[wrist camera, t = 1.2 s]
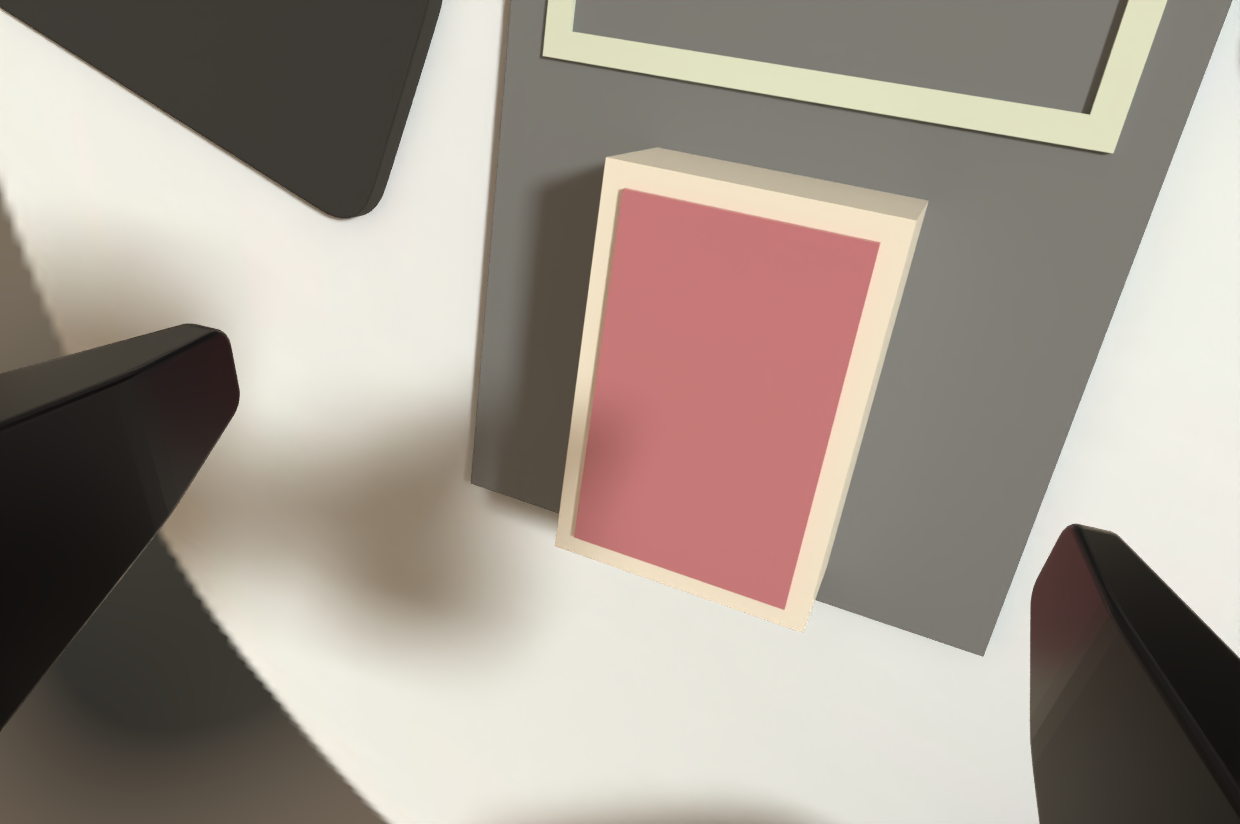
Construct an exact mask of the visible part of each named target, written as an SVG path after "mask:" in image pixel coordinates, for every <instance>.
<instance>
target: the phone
mask: <svg viewBox="0 0 1240 824" xmlns="http://www.w3.org/2000/svg"><path fill="white" fill-rule="evenodd" d="M441 5H442V0H0V7H1V8H2V9H4V10H6V11H7V12H9V13H10V14H12V15H13V16H15V17H16V18H18V19H20V20H21V21H23V22H24V23H26V24H28V25H29V26H31V27H32V28H34V29H35V30H37V31H39V32H40V33H42V34H43V35H45V36H46V37H48V38H50V39H51V40H53V41H54V42H56V43H58V44H59V45H61V46H62V47H64V48H65V49H67V50H69V51H70V52H72V53H73V54H75V55H77V56H78V57H80V58H81V59H83V60H84V61H86V62H88V63H89V64H91V65H92V66H94V67H95V68H97V69H99V70H100V71H102V72H103V73H105V74H107V75H108V76H110V77H111V78H113V79H114V80H116V81H118V82H119V83H121V84H122V85H124V86H125V87H127V88H129V89H130V90H132V91H133V92H135V93H137V94H138V95H140V96H141V97H143V98H144V99H146V100H148V101H149V102H151V103H152V104H154V105H155V106H157V107H159V108H160V109H162V110H163V111H165V112H167V113H168V114H170V115H171V116H173V117H174V118H176V119H178V120H179V121H181V122H182V123H184V124H185V125H187V126H189V127H190V128H192V129H193V130H195V131H197V132H198V133H200V134H201V135H203V136H204V137H206V138H208V139H209V140H211V141H212V142H214V143H215V144H217V145H219V146H220V147H222V148H223V149H225V150H227V151H228V152H230V153H231V154H233V155H234V156H236V157H238V158H239V159H241V160H242V161H244V162H246V163H247V164H249V165H250V166H252V167H253V168H255V169H257V170H258V171H260V172H261V173H263V174H264V175H266V176H268V177H269V178H271V179H272V180H274V181H276V182H277V183H279V184H280V185H282V186H283V187H285V188H287V189H288V190H290V191H291V192H293V193H294V194H296V195H298V196H299V197H301V198H302V199H304V200H306V201H307V202H309V203H310V204H312V205H314V206H315V207H317V208H318V209H320V210H322V211H324V212H325V213H327V214H329V215H332V216H335V217H339V218H351V217H356V216H361V215H365V214H367V213H369V212H370V211H372V210H373V209H374V208H375V207H376V206H377V204H378V203H379V201H380V200H381V198H382V196H383V193H384V191H385V188H386V185H387V182H388V178H389V175H390V172H391V169H392V166H393V163H394V159H395V156H396V153H397V150H398V147H399V143H400V140H401V137H402V134H403V131H404V127H405V124H406V121H407V118H408V114H409V111H410V108H411V105H412V102H413V98H414V95H415V92H416V89H417V85H418V82H419V79H420V76H421V72H422V69H423V66H424V63H425V59H426V56H427V53H428V50H429V46H430V43H431V40H432V36H433V33H434V30H435V27H436V23H437V20H438V16H439V13H440V9H441Z"/></svg>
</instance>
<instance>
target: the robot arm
mask: <svg viewBox="0 0 1240 824" xmlns="http://www.w3.org/2000/svg"><path fill="white" fill-rule="evenodd" d="M239 397H240V390H239V385H238V379H237V374H236V369H235V364H234V358H233V353H232V348H231V343H230V340H229V338H228V337H227V335H226V334H225V333H224V332H222V331H221V330H218V329H214V328H210V327H205V326H201V325H197V324H182V325H179V326H175V327H171V328H168V329H164V330H160V331H156V332H153V333H149V334H145V335H142V336H138V337H134V338H131V339H127V340H123V341H119V342H116V343H112V344H108V345H105V346H101V347H97V348H94V349H90V350H86V351H82V352H79V353H75V354H71V355H68V356H64V357H60V358H56V359H53V360H49V361H46V362H42V363H38V364H35V365H31V366H27V367H24V368H19V369H16V370H12V371H8V372H5V373H1V374H0V731H1V730H2V729H3V727H4V726H5V725H6V724H7V722H8V721H9V720H10V719H11V717H12V716H13V715H14V714H15V712H16V711H17V710H18V709H19V707H20V706H21V705H22V703H23V702H24V701H25V699H26V698H27V697H28V696H29V695H30V693H31V692H32V691H33V690H34V688H35V687H36V686H37V684H38V683H39V682H40V681H41V679H42V678H43V677H44V676H45V674H46V673H47V672H48V671H49V669H50V668H51V667H52V665H53V664H54V663H55V662H56V660H57V659H58V658H59V657H60V655H61V654H62V653H63V652H64V650H65V649H66V648H67V646H68V645H69V644H70V643H71V641H72V640H73V639H74V638H75V636H76V635H77V634H78V633H79V631H80V630H81V629H82V627H83V626H84V625H85V624H86V622H87V621H88V620H89V619H90V617H91V616H92V615H93V614H94V612H95V611H96V610H97V609H98V607H99V606H100V605H101V603H102V602H103V601H104V600H105V598H106V597H107V596H108V595H109V593H110V592H111V591H112V590H113V588H114V587H115V586H116V584H117V583H118V582H119V581H120V579H121V578H122V577H123V576H124V574H125V573H126V572H127V570H128V569H129V568H130V567H131V565H132V564H133V563H134V562H135V560H136V559H137V558H138V557H139V555H140V554H141V553H142V551H143V550H144V549H145V548H146V547H147V545H148V544H149V542H150V541H151V540H152V539H153V538H154V536H155V535H156V534H157V532H158V531H159V530H160V528H161V527H162V526H163V524H164V523H165V522H166V520H167V519H168V518H169V516H170V515H171V513H172V512H173V510H174V509H175V507H176V506H177V504H178V503H179V502H180V500H181V498H182V497H183V495H184V494H185V492H186V491H187V489H188V487H189V486H190V484H191V483H192V481H193V479H194V478H195V476H196V475H197V473H198V471H199V470H200V468H201V467H202V465H203V463H204V462H205V460H206V459H207V457H208V456H209V454H210V452H211V451H212V449H213V448H214V446H215V444H216V443H217V441H218V440H219V438H220V436H221V435H222V433H223V432H224V430H225V429H226V427H227V425H228V424H229V422H230V421H231V419H232V417H233V416H234V414H235V412H236V410H237V407H238V404H239ZM1030 744H1031V754H1032V765H1033V774H1034V782H1035V790H1036V799H1037V807H1038V815H1039V823H1040V824H1240V658H1239V657H1238V656H1237V655H1236V654H1235V653H1234V652H1233V651H1232V650H1231V649H1230V648H1229V647H1228V646H1227V645H1226V644H1225V643H1224V642H1223V641H1222V640H1221V639H1220V638H1219V637H1218V636H1217V635H1216V634H1215V633H1214V632H1213V631H1212V630H1211V629H1210V627H1209V626H1208V625H1207V624H1206V623H1205V622H1204V621H1203V620H1202V619H1201V618H1200V617H1199V616H1198V615H1197V614H1196V613H1195V612H1194V611H1193V610H1192V609H1191V608H1190V607H1189V606H1188V605H1187V604H1186V603H1185V602H1184V601H1183V600H1182V599H1181V598H1180V597H1179V596H1178V595H1177V594H1176V593H1175V592H1174V591H1173V590H1172V589H1171V588H1170V587H1169V586H1168V585H1167V584H1166V583H1165V582H1164V581H1163V580H1162V579H1161V578H1160V577H1159V576H1158V575H1157V574H1156V573H1155V572H1154V571H1153V570H1152V569H1151V568H1150V567H1149V566H1148V565H1147V564H1146V563H1145V562H1144V561H1143V560H1142V559H1141V558H1140V557H1139V556H1138V555H1137V554H1136V553H1135V552H1134V551H1133V550H1132V549H1131V548H1130V547H1129V546H1128V545H1127V544H1126V543H1125V542H1124V541H1123V540H1122V539H1121V538H1120V537H1119V536H1118V535H1117V534H1115V533H1113V532H1111V531H1107V530H1103V529H1098V528H1094V527H1089V526H1085V525H1080V524H1072V525H1069V526H1067V527H1066V528H1065V529H1064V530H1063V531H1062V533H1061V535H1060V536H1059V538H1058V540H1057V542H1056V544H1055V546H1054V548H1053V549H1052V551H1051V553H1050V555H1049V557H1048V559H1047V561H1046V563H1045V565H1044V566H1043V568H1042V570H1041V572H1040V574H1039V576H1038V578H1037V580H1036V582H1035V585H1034V588H1033V592H1032V597H1031V619H1030Z"/></svg>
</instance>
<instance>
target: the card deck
mask: <svg viewBox="0 0 1240 824" xmlns="http://www.w3.org/2000/svg"><path fill="white" fill-rule="evenodd" d="M927 205H928V200H923V199H918V198H913V197H907V196H902V195H897V194H892V193H887V192H882V191H877V190H872V189H867V188H862V187H857V186H852V185H846V184H841V183H836V182H831V181H826V180H821V179H816V178H811V177H806V176H801V175H796V174H791V173H785V172H780V171H775V170H770V169H765V168H760V167H755V166H750V165H745V164H740V163H735V162H729V161H724V160H719V159H714V158H709V157H704V156H699V155H694V154H689V153H684V152H679V151H674V150H668V149H663V148H658V147H656V148H651V149H646V150H641V151H636V152H630V153H625V154H620V155H615V156H610V157H606V160H605V168H604V175H603V183H602V191H601V198H600V206H599V214H598V221H597V229H596V237H595V244H594V252H593V260H592V267H591V275H590V282H589V290H588V298H587V305H586V313H585V321H584V328H583V336H582V344H581V351H580V359H579V366H578V374H577V382H576V389H575V397H574V405H573V412H572V420H571V428H570V435H569V443H568V450H567V458H566V466H565V473H564V481H563V489H562V496H561V504H560V512H559V519H558V527H557V534H556V542H555V546H556V547H559V548H562V549H565V550H568V551H571V552H573V553H576V554H579V555H582V556H585V557H588V558H591V559H593V560H596V561H599V562H602V563H605V564H608V565H611V566H613V567H616V568H619V569H622V570H625V571H628V572H630V573H633V574H636V575H639V576H642V577H645V578H648V579H650V580H653V581H656V582H659V583H662V584H665V585H668V586H670V587H673V588H676V589H679V590H682V591H685V592H687V593H690V594H693V595H696V596H699V597H702V598H705V599H707V600H710V601H713V602H716V603H719V604H722V605H725V606H727V607H730V608H733V609H736V610H739V611H742V612H745V613H747V614H750V615H753V616H756V617H759V618H762V619H764V620H767V621H770V622H773V623H776V624H779V625H782V626H784V627H787V628H790V629H793V630H796V631H799V632H802V633H803V632H804V630H805V627H806V624H807V621H808V618H809V616H810V613H811V610H812V607H813V604H814V602H815V599H816V596H817V593H818V590H819V588H820V585H821V582H822V579H823V576H824V574H825V571H826V568H827V565H828V561H829V558H830V554H831V550H832V547H833V543H834V540H835V536H836V532H837V529H838V525H839V522H840V518H841V514H842V511H843V507H844V504H845V500H846V496H847V493H848V489H849V486H850V482H851V478H852V475H853V471H854V468H855V464H856V460H857V457H858V453H859V450H860V446H861V442H862V439H863V435H864V432H865V428H866V424H867V421H868V417H869V414H870V410H871V406H872V403H873V399H874V396H875V392H876V388H877V385H878V381H879V378H880V374H881V370H882V367H883V363H884V360H885V356H886V352H887V349H888V345H889V342H890V338H891V334H892V331H893V327H894V324H895V320H896V316H897V313H898V309H899V306H900V302H901V298H902V295H903V291H904V288H905V284H906V280H907V277H908V273H909V270H910V266H911V262H912V259H913V255H914V252H915V248H916V244H917V241H918V237H919V234H920V230H921V226H922V223H923V219H924V216H925V212H926V208H927Z"/></svg>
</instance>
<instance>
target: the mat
mask: <svg viewBox="0 0 1240 824" xmlns="http://www.w3.org/2000/svg"><path fill="white" fill-rule="evenodd" d="M1231 2H1232V0H511V9H510V21H509V33H508V45H507V57H506V69H505V81H504V93H503V105H502V117H501V129H500V140H499V152H498V164H497V176H496V188H495V200H494V212H493V224H492V236H491V248H490V260H489V272H488V284H487V296H486V308H485V320H484V332H483V344H482V356H481V368H480V380H479V392H478V403H477V415H476V427H475V439H474V451H473V463H472V475H471V484H474V485H477V486H480V487H483V488H486V489H489V490H492V491H495V492H498V493H501V494H504V495H507V496H510V497H513V498H516V499H518V500H521V501H524V502H527V503H530V504H533V505H536V506H539V507H542V508H545V509H548V510H551V511H554V512H557V513H559V512H560V504H561V496H562V489H563V481H564V473H565V466H566V458H567V450H568V443H569V435H570V428H571V420H572V412H573V405H574V397H575V389H576V382H577V374H578V366H579V359H580V351H581V344H582V336H583V328H584V321H585V313H586V305H587V298H588V290H589V282H590V275H591V267H592V260H593V252H594V244H595V237H596V229H597V221H598V214H599V206H600V198H601V191H602V183H603V175H604V168H605V160H606V157H610V156H615V155H620V154H625V153H630V152H636V151H641V150H646V149H651V148H656V147H658V148H663V149H668V150H674V151H679V152H684V153H689V154H694V155H699V156H704V157H709V158H714V159H719V160H724V161H729V162H735V163H740V164H745V165H750V166H755V167H760V168H765V169H770V170H775V171H780V172H785V173H791V174H796V175H801V176H806V177H811V178H816V179H821V180H826V181H831V182H836V183H841V184H846V185H852V186H857V187H862V188H867V189H872V190H877V191H882V192H887V193H892V194H897V195H902V196H907V197H913V198H918V199H923V200H928V205H927V208H926V212H925V216H924V219H923V223H922V226H921V230H920V234H919V237H918V241H917V244H916V248H915V252H914V255H913V259H912V262H911V266H910V270H909V273H908V277H907V280H906V284H905V288H904V291H903V295H902V298H901V302H900V306H899V309H898V313H897V316H896V320H895V324H894V327H893V331H892V334H891V338H890V342H889V345H888V349H887V352H886V356H885V360H884V363H883V367H882V370H881V374H880V378H879V381H878V385H877V388H876V392H875V396H874V399H873V403H872V406H871V410H870V414H869V417H868V421H867V424H866V428H865V432H864V435H863V439H862V442H861V446H860V450H859V453H858V457H857V460H856V464H855V468H854V471H853V475H852V478H851V482H850V486H849V489H848V493H847V496H846V500H845V504H844V507H843V511H842V514H841V518H840V522H839V525H838V529H837V532H836V536H835V540H834V543H833V547H832V550H831V554H830V558H829V561H828V565H827V568H826V571H825V574H824V576H823V579H822V582H821V585H820V588H819V590H818V593H817V596H816V599H815V600H817V601H820V602H823V603H826V604H829V605H832V606H835V607H838V608H841V609H844V610H847V611H850V612H853V613H856V614H859V615H862V616H865V617H867V618H870V619H873V620H876V621H879V622H882V623H885V624H888V625H891V626H894V627H897V628H900V629H903V630H906V631H909V632H912V633H915V634H918V635H921V636H924V637H927V638H930V639H933V640H935V641H938V642H941V643H944V644H947V645H950V646H953V647H956V648H959V649H962V650H965V651H968V652H971V653H974V654H977V655H980V656H984V653H985V651H986V648H987V645H988V643H989V640H990V637H991V635H992V632H993V630H994V627H995V624H996V622H997V619H998V616H999V614H1000V611H1001V608H1002V606H1003V603H1004V601H1005V598H1006V595H1007V593H1008V590H1009V587H1010V585H1011V582H1012V579H1013V577H1014V574H1015V572H1016V569H1017V566H1018V564H1019V561H1020V558H1021V556H1022V553H1023V550H1024V548H1025V545H1026V543H1027V540H1028V537H1029V535H1030V532H1031V529H1032V527H1033V524H1034V522H1035V519H1036V516H1037V514H1038V511H1039V508H1040V506H1041V503H1042V500H1043V498H1044V495H1045V493H1046V490H1047V487H1048V485H1049V482H1050V479H1051V477H1052V474H1053V471H1054V469H1055V466H1056V464H1057V461H1058V458H1059V456H1060V453H1061V450H1062V448H1063V445H1064V442H1065V440H1066V437H1067V435H1068V432H1069V429H1070V427H1071V424H1072V421H1073V419H1074V416H1075V413H1076V411H1077V408H1078V406H1079V403H1080V400H1081V398H1082V395H1083V392H1084V390H1085V387H1086V384H1087V382H1088V379H1089V377H1090V374H1091V371H1092V369H1093V366H1094V363H1095V361H1096V358H1097V356H1098V353H1099V350H1100V348H1101V345H1102V342H1103V340H1104V337H1105V334H1106V332H1107V329H1108V327H1109V324H1110V321H1111V319H1112V316H1113V313H1114V311H1115V308H1116V305H1117V303H1118V300H1119V298H1120V295H1121V292H1122V290H1123V287H1124V284H1125V282H1126V279H1127V276H1128V274H1129V271H1130V269H1131V266H1132V263H1133V261H1134V258H1135V255H1136V253H1137V250H1138V247H1139V245H1140V242H1141V240H1142V237H1143V234H1144V232H1145V229H1146V226H1147V224H1148V221H1149V219H1150V216H1151V213H1152V211H1153V208H1154V205H1155V203H1156V200H1157V197H1158V195H1159V192H1160V190H1161V187H1162V184H1163V182H1164V179H1165V176H1166V174H1167V171H1168V168H1169V166H1170V163H1171V161H1172V158H1173V155H1174V153H1175V150H1176V147H1177V145H1178V142H1179V139H1180V137H1181V134H1182V132H1183V129H1184V126H1185V124H1186V121H1187V118H1188V116H1189V113H1190V110H1191V108H1192V105H1193V103H1194V100H1195V97H1196V95H1197V92H1198V89H1199V87H1200V84H1201V82H1202V79H1203V76H1204V74H1205V71H1206V68H1207V66H1208V63H1209V60H1210V58H1211V55H1212V53H1213V50H1214V47H1215V45H1216V42H1217V39H1218V37H1219V34H1220V31H1221V29H1222V26H1223V24H1224V21H1225V18H1226V16H1227V13H1228V10H1229V8H1230V5H1231Z"/></svg>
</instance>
